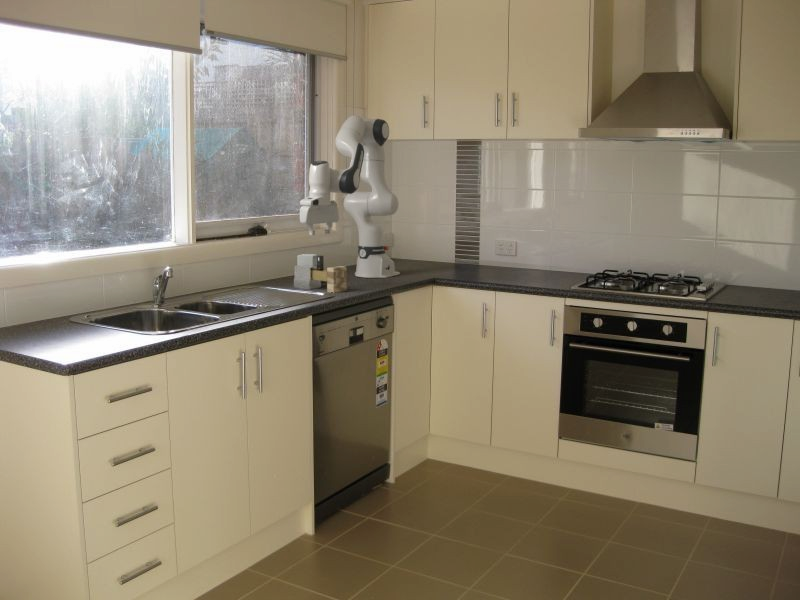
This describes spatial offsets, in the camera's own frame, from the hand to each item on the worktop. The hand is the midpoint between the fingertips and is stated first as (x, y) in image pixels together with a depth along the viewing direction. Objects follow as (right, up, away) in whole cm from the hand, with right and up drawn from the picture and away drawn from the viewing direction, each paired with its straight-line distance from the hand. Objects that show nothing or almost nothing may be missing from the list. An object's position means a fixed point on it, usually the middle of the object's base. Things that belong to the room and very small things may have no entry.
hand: (319, 234), depth 360 cm
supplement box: (-7, -20, +21) cm, 30 cm away
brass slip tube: (-2, -18, +5) cm, 19 cm away
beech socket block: (+7, -24, -2) cm, 25 cm away
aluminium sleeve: (-6, -22, +8) cm, 24 cm away
